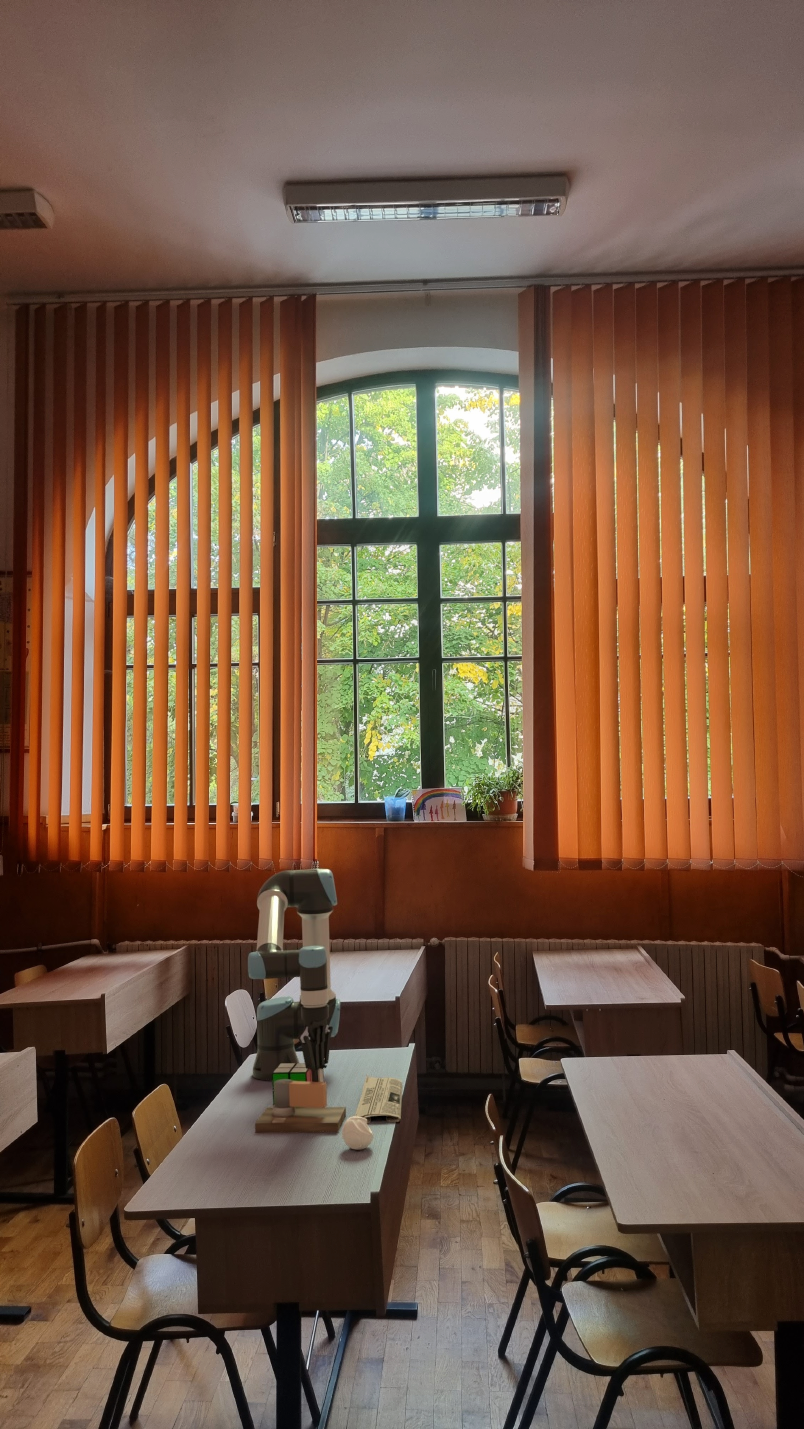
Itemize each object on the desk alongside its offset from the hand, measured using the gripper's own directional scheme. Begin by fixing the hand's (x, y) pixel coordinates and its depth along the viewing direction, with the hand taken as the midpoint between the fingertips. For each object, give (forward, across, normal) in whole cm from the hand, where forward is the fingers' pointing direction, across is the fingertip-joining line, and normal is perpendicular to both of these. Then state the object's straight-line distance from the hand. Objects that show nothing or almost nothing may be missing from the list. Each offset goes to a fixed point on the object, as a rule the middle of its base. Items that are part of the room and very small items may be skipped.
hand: (318, 1093), depth 262 cm
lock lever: (+2, +4, -3) cm, 6 cm away
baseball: (+8, +13, +22) cm, 26 cm away
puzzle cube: (+7, -10, -16) cm, 20 cm away
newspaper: (+8, -20, +6) cm, 23 cm away
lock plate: (+7, +4, -3) cm, 9 cm away
